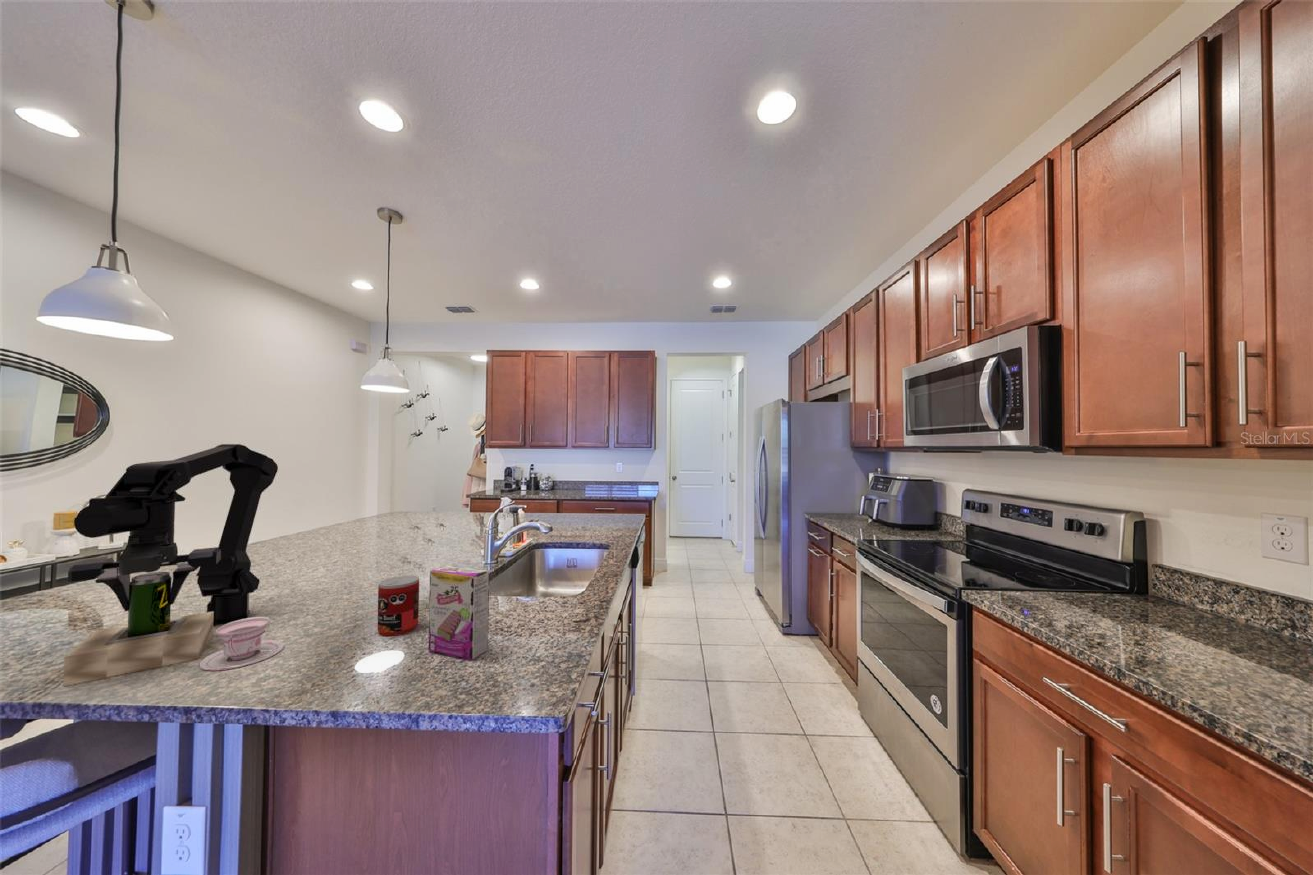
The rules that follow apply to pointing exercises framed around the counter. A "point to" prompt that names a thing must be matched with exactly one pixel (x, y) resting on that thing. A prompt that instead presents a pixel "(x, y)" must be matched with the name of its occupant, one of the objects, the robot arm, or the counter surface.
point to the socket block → (137, 649)
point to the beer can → (149, 604)
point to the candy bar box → (459, 611)
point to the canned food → (398, 605)
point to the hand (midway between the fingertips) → (150, 607)
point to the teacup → (242, 644)
